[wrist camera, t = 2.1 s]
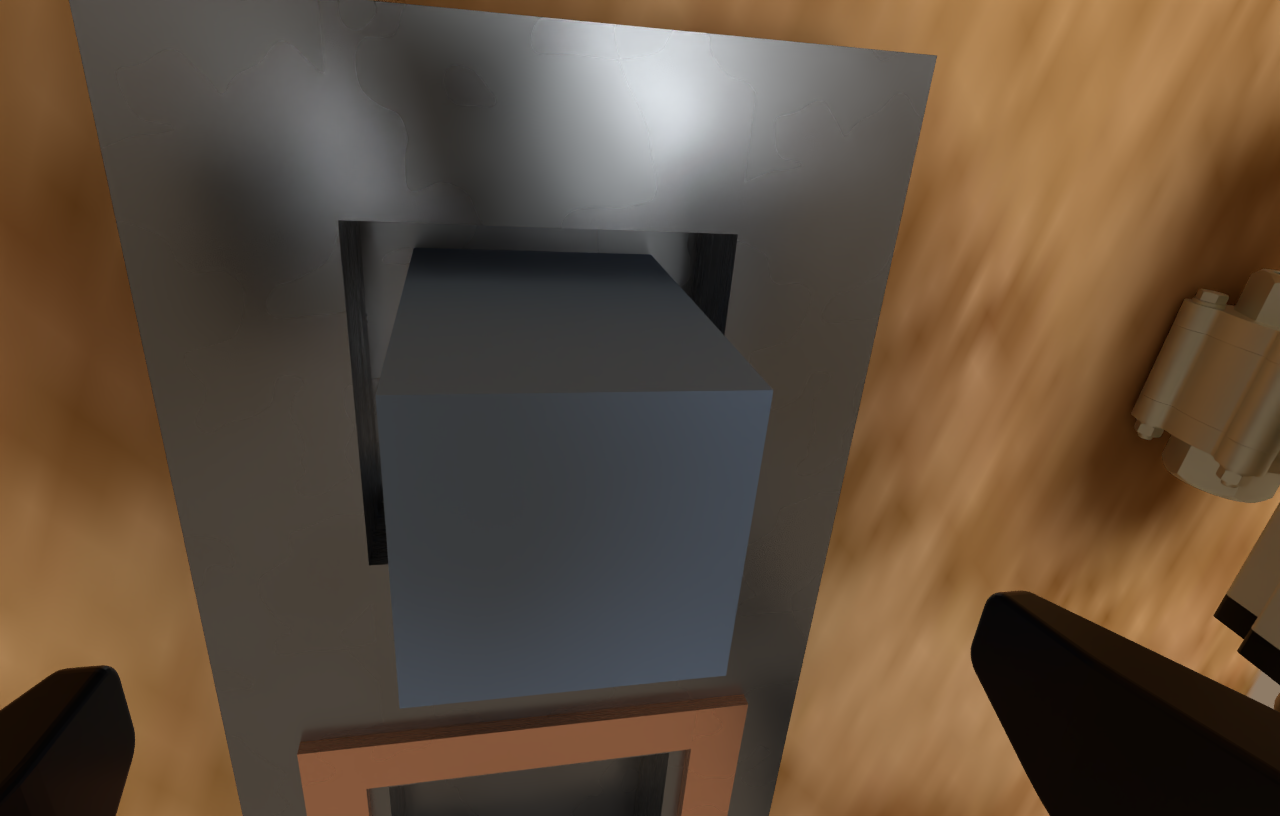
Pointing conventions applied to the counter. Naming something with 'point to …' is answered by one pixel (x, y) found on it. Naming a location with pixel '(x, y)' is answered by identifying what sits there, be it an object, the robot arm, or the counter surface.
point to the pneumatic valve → (1228, 435)
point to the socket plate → (363, 322)
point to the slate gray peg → (561, 476)
